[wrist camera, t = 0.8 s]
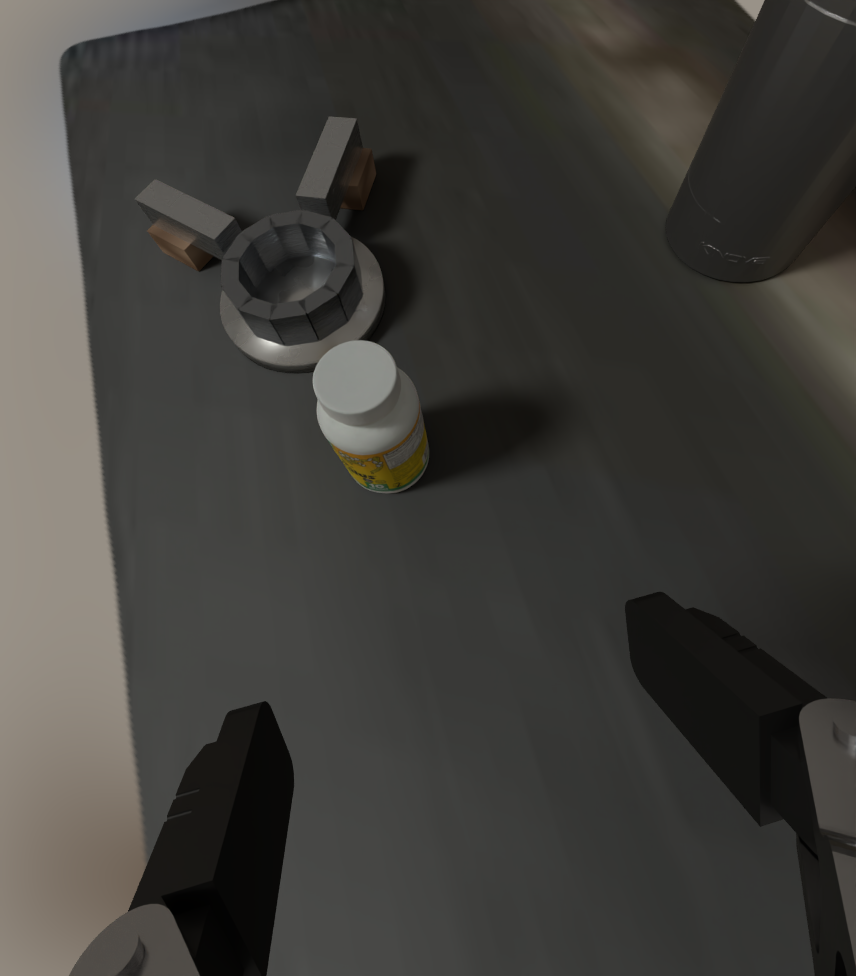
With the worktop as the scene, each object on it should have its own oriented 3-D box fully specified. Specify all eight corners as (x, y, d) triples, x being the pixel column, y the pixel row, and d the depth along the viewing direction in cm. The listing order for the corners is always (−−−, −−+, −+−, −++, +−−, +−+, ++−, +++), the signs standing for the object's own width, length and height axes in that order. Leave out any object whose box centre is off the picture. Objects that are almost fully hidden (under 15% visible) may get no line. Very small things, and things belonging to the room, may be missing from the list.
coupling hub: (276, 225, 39) (255, 179, 35) (411, 263, 36) (404, 218, 32) (198, 344, 35) (165, 307, 32) (341, 394, 33) (324, 361, 29)
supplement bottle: (446, 457, 31) (437, 375, 22) (384, 513, 30) (347, 451, 21) (392, 405, 32) (361, 308, 23) (331, 456, 31) (275, 376, 22)
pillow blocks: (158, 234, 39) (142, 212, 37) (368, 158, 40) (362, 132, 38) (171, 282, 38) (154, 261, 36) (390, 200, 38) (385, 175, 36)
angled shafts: (233, 118, 40) (220, 89, 38) (378, 151, 37) (373, 122, 35) (143, 237, 36) (123, 212, 34) (297, 284, 34) (286, 260, 32)
